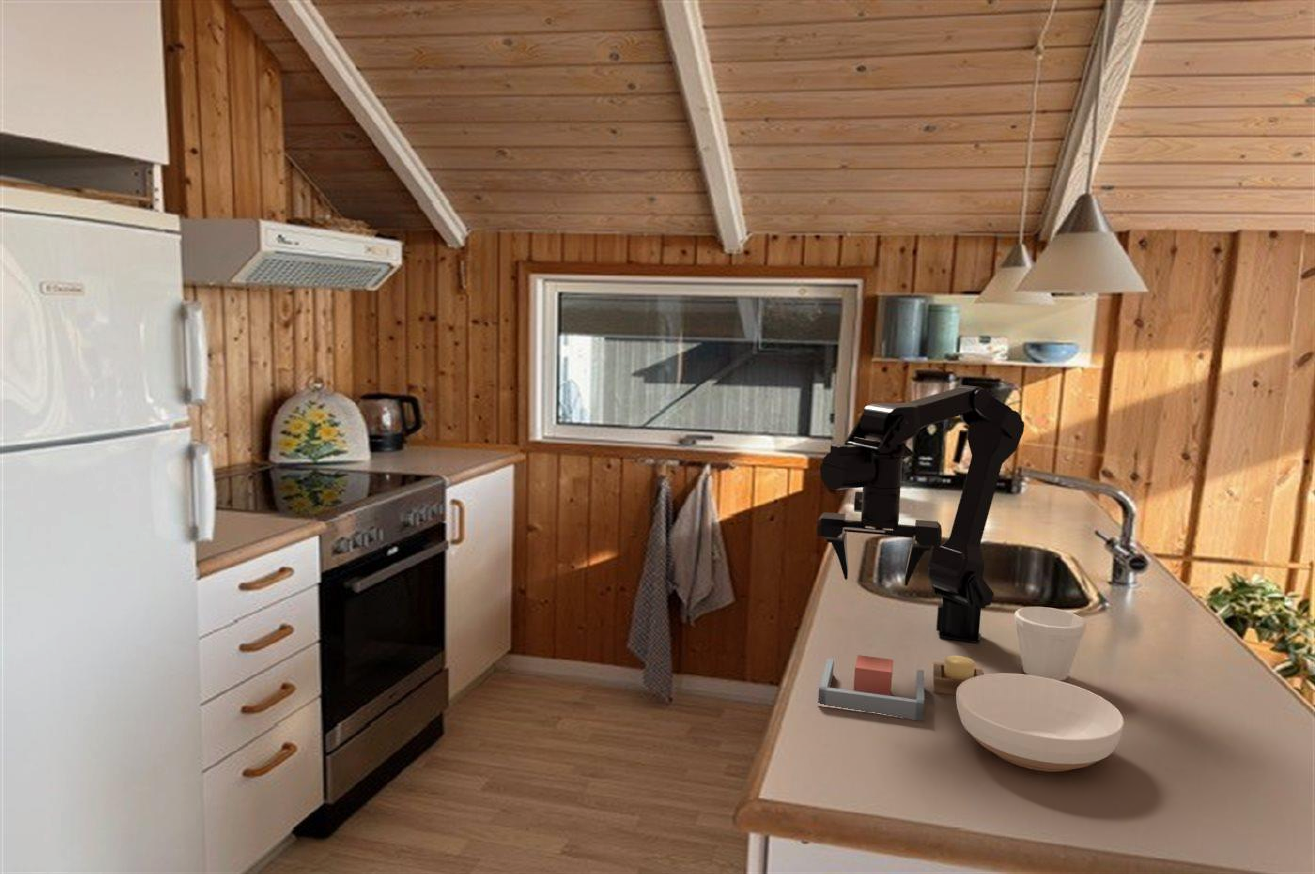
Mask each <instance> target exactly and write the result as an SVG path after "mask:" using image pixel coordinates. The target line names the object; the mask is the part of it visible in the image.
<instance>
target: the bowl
mask: <svg viewBox="0 0 1315 874" xmlns="http://www.w3.org/2000/svg"><path fill="white" fill-rule="evenodd" d="M955 697H956V700H955V701H956V707H957V708H956V709H957V711H958V715H959V719H960V722H961V724H962V726H963V727H964V729H965V730H966V731H967V732H968V733H969V734H970V735H971V736H972V737H973V739H975V741H977V742H978V744H980V745H981V746H982V747H984V748H985V749H987V750H988V751H990V752H992V753H994V755H996V756H998V758H1000V759H1002V760H1004V761H1007V762H1008V763H1011V764H1014V765H1016V766H1018V767H1023V768H1026V769H1031V770H1035V771H1040V772H1052V773H1053V772H1055V773H1056V772H1065V771H1070V770H1074V769H1075V770H1076V769H1081V768H1082V769H1083V768H1087V767H1089V766H1092V765H1094V764H1095V763H1097V762H1098V763H1099V761H1101V760H1103V759H1105V758H1108V756H1110V755H1111V754H1112V753H1113V752H1114V750H1115V748H1116V746H1117V745H1118V743H1119V742H1120V739H1121V737H1122V733H1123V730H1124V725H1125V722H1124V721H1125V720H1124V717H1123V715H1122V713H1121V712H1120V710H1119V709H1118V708H1117V707H1116V706H1115V705H1114V704H1113V703H1111V702H1110V701H1108V700H1106V699H1105V698H1104V697H1102V696H1100V695H1098V694H1096V693H1094V692H1092V691H1090V690H1088V689H1085V688H1083V687H1079V686H1078V685H1074V684H1071V683H1068V682H1064V681H1057V680H1053V679H1049V678H1044V677H1038V676H1032V675H1026V674H1022V673H1004V672H1003V673H987V674H984V675H980V676H976V677H973V678H969V679H968V680H966V681H964V682H962V683H961V684H960V685H959V687H958V688H957V691H956V695H955Z"/></svg>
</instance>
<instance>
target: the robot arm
mask: <svg viewBox="0 0 1315 874" xmlns="http://www.w3.org/2000/svg"><path fill="white" fill-rule="evenodd" d="M956 417H959V419H960V420H961V422H963V424H965V426H967V427H968V431H967V437H966V439H967V443H968V447H969V451H970V454H971V458H970V461H969V462H970V463H969V467H968V470H967V473H966V477H965V481H964V484H963V489H962V491H961V495H960V498H959V503H958V505H957V510H956V513H955V517H954V520H953V525H952V528H951V531H950V535H949V537H948V539H946V540H945V541H944V542H943V544H942V537H943V534H942V533H943V529H942V525H941V524H940V522H939V521H937V520H926V519H925V520H924V519H915V524H914V525H912V524H902V523H901V524H900V523H899V520H900V508H901V507H900V503H901V502H900V501H901V489H902V488H901V486H902V471H903V470H902V469H903V457H904V458H905V457H912V456H913V455H914V451H913V450H912V449H911V448H910V447H908V445H907V444H906V442H907V441H909V440H911V439H913V438H914V437H916V436H917V435H918V433H919V432H920V430H921V429H923V428H925V427H928V426H932V425H935V424H938V423H941V422H943V421H947V420H950V419H953V418H956ZM1024 431H1025V422H1024V421H1023V418H1022V415H1021V414H1020V413H1019V412H1018V411H1017V410H1014V409H1012V408H1011V407H1010V406H1009V405H1007V404H1005V403H1003V402H1002V401H1001V400H998V399H997V398H996V397H994V396H992V394H990V393H989V392H988V391H987V390H986V389H984V388H983V387H981V386H974V385H965V384H963V385H962V384H961V385H958V386H955V387H954V388H953V389H948V390H945V391H942V392H938V393H935V394H931V395H927V396H924V397H921V398H918V399H915V400H911V401H908V402H877V403H870V404H868V405H866V406H865V407H864V408H863V412H862V414H861V416H860V417H859V419H858V421H857V422H856V423H855V425H854V427H853V429H852V430H851V431H850V433H849V436H848V437H847V439H845V441H844V444H843V445H841V444H831V445H830V449H829V450H830V452H829V453H827V454H825V456H824V457H823V459H822V462H821V464H820V465H819V473H820V479H821V481H822V483H823V485H824V486H825V487H826V488H827V489H828V490H830V491H841V490H851V489H861V488H862V491H855V493H854V502H853V510H854V512H855V513H860V514H861V515H860V520H850V519H846V513H841V512H840V513H838V512H823V513H822V514H820V516H819V518H818V520H817V529H816V532H817V534H816V535H817V536H818V537H824V538H825V540H824V541H825V542H826V543H830V544H831V545H832V547H833V550H834V551H835V553H836V555H837V559H838V561H839V565H840V567H841V570H842V571H841V572H842V575H843V577H844V580H848V579H849V559H848V544H847V542H848V541H847V539H848V538H847V533H854V534H855V533H856V534H857V533H858V534H869V535H877V536H879V535H880V536H889V537H890V536H891V537H900V538H901V537H902V538H911V545H910V550H909V554H908V560H907V564H906V568H905V574H904V586H907V587H908V585H909V583H910V580H911V578H912V576H913V574H914V571H915V569H916V567H917V564H918V563H919V562H920V560H921V558H922V556H923V555H924V554H925V553H926V552H931V558H930V560H929V562H928V564H927V568H928V579H929V580H930V584H931V585H930V586H931V589H932V594H933V595H934V596H939V597H941V603H938V604H937V611H936V625H935V626H936V627H935V628H936V629H935V630H936V631H937V632H938V637H939V638H940V639H945V640H946V639H947V640H953V641H954V640H955V641H962V642H963V641H964V642H971V643H980V642H981V638H980V637H981V636H980V625H981V614H982V613H981V612H982V609H986V607H988V606H991V603H992V602H993V601H992V600H993V598H994V595H995V594H994V591H993V590H992V589H991V588H990V586H989V585H988V583H987V582H986V580H984V571H985V567H986V566H985V565H986V564H985V561H984V558H983V553H982V551H981V543H982V539H983V535H984V533H985V532H984V531H985V528H986V524H987V520H988V518H989V513H990V510H991V506H992V503H993V499H994V495H995V491H996V488H997V483H998V480H999V477H1000V473H1001V471H1002V470H1001V469H1002V466H1003V464H1004V463H1005V462H1006V461H1007V460H1008V459H1009V458H1010V457H1011V456H1012V455H1013V454H1014V453H1015V452H1016V451H1017V449H1018V446H1019V444H1020V442H1021V439H1022V436H1023V434H1024Z"/></svg>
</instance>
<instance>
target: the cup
mask: <svg viewBox="0 0 1315 874" xmlns="http://www.w3.org/2000/svg"><path fill="white" fill-rule="evenodd" d="M1014 621H1015V624H1016V625H1015V626H1016V632H1017V638H1018V647H1019V652H1020V658H1021V659H1020V660H1021V664H1022V670H1023V673H1024V675H1032V676H1038V677H1044V678H1049V679H1053V680H1057V681H1062V682H1064V681H1066V679H1068V676H1069V673H1070V671H1071V669H1072V666H1073V662H1074V660H1075V657H1076V654H1077V652H1078V649H1079V646H1080V644H1081V641H1082V638H1083V636H1084V634H1085V631H1086V628H1087V622H1086V621H1085V620H1084V618H1082V617H1081V616H1079V615H1077V614H1075V613H1072V612H1069V611H1067V610H1063V609H1058V608H1054V607H1044V606H1026V607H1022V608H1019V609H1017V610H1016V611H1015V612H1014Z"/></svg>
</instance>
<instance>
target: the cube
mask: <svg viewBox="0 0 1315 874" xmlns="http://www.w3.org/2000/svg"><path fill="white" fill-rule="evenodd" d="M855 661H856V662H855V665H854V678H853V679H854V680H853V691H858V692H865V693H872V694H880V695H887V696H892V682H893V665H894V659H893V658H892V659H890V658H883V657H877V656H876V657H875V656H868V655H860V654H857V658H856V660H855Z"/></svg>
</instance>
